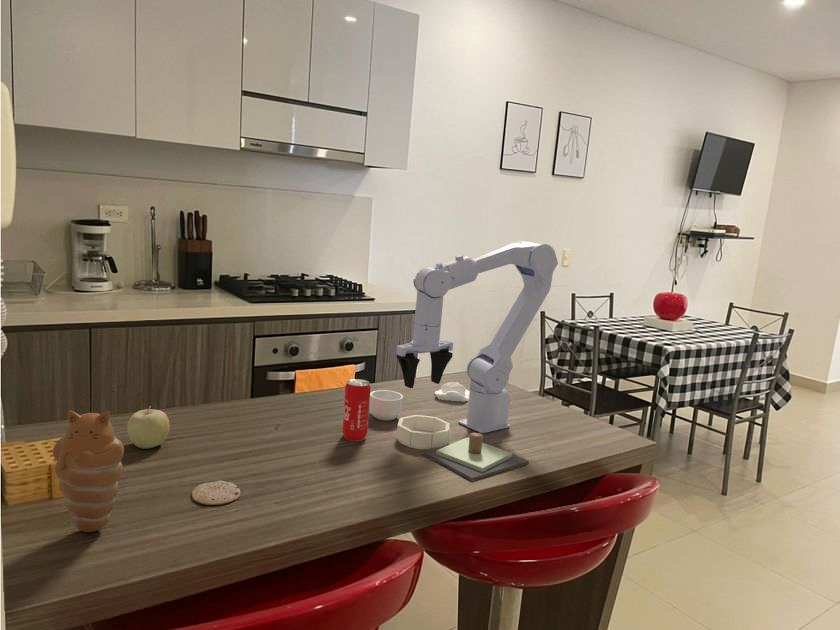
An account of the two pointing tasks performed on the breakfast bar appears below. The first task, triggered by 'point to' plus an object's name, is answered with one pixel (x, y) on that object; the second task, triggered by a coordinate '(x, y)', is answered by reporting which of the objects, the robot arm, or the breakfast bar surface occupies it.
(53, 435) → the breakfast bar surface
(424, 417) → the bowl
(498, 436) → the breakfast bar surface
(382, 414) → the teacup
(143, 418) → the fruit
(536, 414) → the breakfast bar surface
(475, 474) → the mat
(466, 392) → the white rounded piece
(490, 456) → the lid
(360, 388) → the beverage can
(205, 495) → the flatbread
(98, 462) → the cat ice cream
